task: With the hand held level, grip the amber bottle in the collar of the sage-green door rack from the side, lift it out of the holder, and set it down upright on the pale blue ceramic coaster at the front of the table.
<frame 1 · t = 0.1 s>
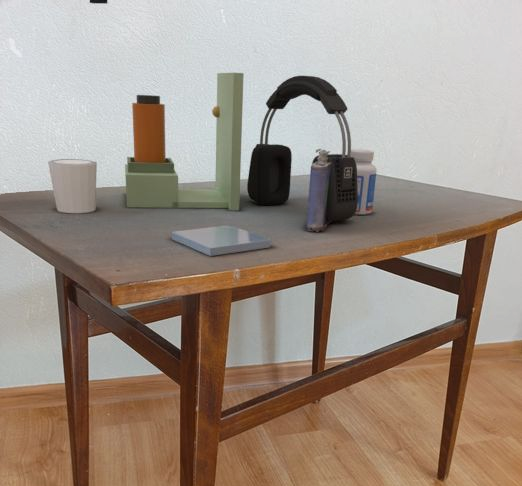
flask: (318, 226, 87), on the table, touching headphones
amber bottle: (150, 169, 97), point 5 cm above the table, touching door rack
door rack: (151, 200, 99), on the table
pill bottle: (355, 213, 99), on the table
white cup: (76, 210, 89), on the table
headphones: (297, 212, 96), on the table, touching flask
coaster: (220, 243, 75), on the table
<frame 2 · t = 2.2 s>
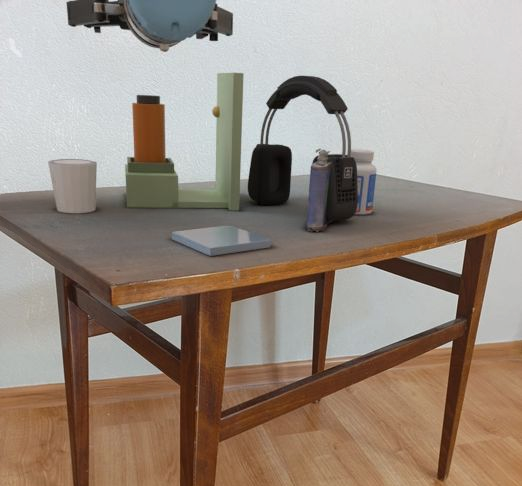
hand: (148, 24, 80), 25 cm above the table, tool horizontal, fingers open, 13 cm apart
nothing on the table moved.
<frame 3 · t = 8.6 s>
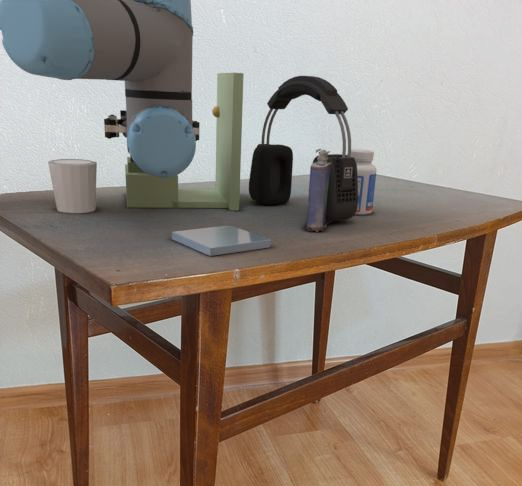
hand: (147, 121, 99), 12 cm above the table, tool horizontal, fingers closed on amber bottle, 5 cm apart
amber bottle: (150, 169, 97), point 5 cm above the table, touching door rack, gripper
headphones: (298, 212, 96), on the table, touching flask
everything else where it was.
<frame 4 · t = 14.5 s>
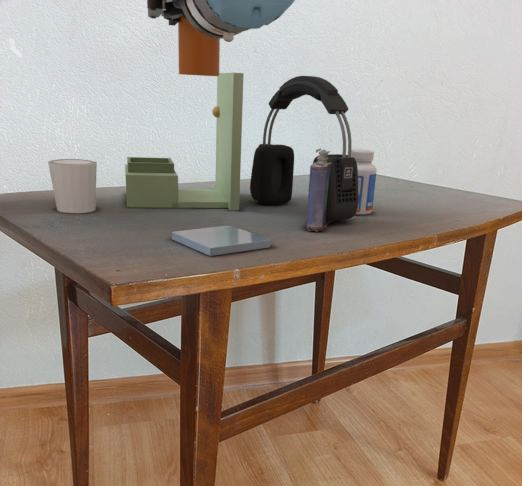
hand: (194, 14, 75), 26 cm above the table, tool horizontal, fingers closed on amber bottle, 5 cm apart
amber bottle: (199, 75, 73), point 19 cm above the table, touching gripper
everything else where it was.
when the fingers open (8 cm above the table, at t = 20.5 s): amber bottle stays where it is, resting on coaster.
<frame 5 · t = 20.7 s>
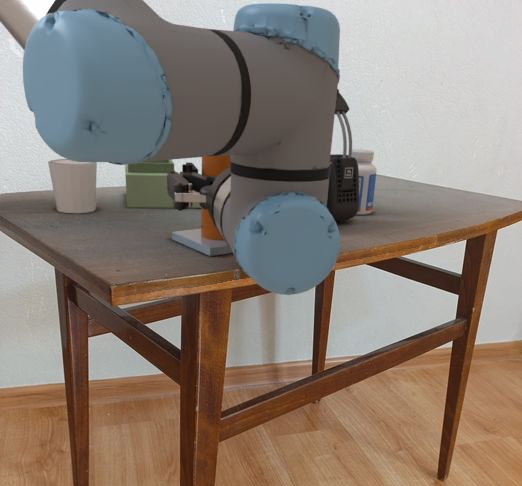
hand: (215, 174, 76), 8 cm above the table, tool horizontal, fingers open, 6 cm apart
amber bottle: (221, 235, 74), point 1 cm above the table, touching coaster
headphones: (300, 212, 96), on the table, touching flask
everything else where it was.
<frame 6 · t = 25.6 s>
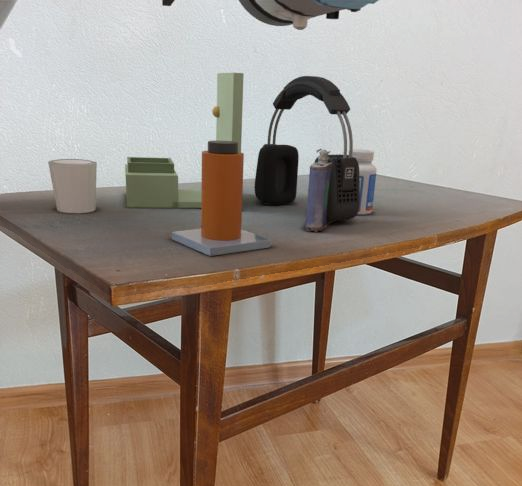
headphones: (302, 212, 96), on the table, touching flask
everything else where it was.
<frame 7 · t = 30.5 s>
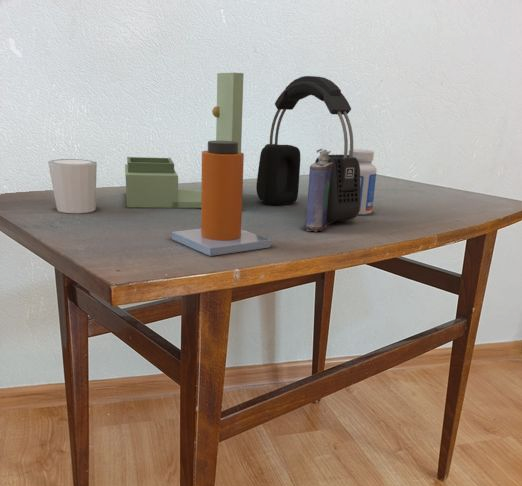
nothing on the table moved.
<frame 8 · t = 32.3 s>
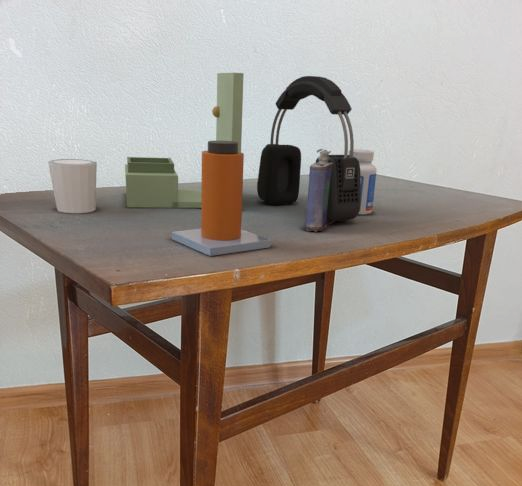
headphones: (303, 212, 96), on the table, touching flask
everything else where it was.
at the end: amber bottle 0.0 cm off-centre on the coaster, point 1.0 cm above the coaster's base; amber bottle tilted 0°; amber bottle touching coaster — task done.
